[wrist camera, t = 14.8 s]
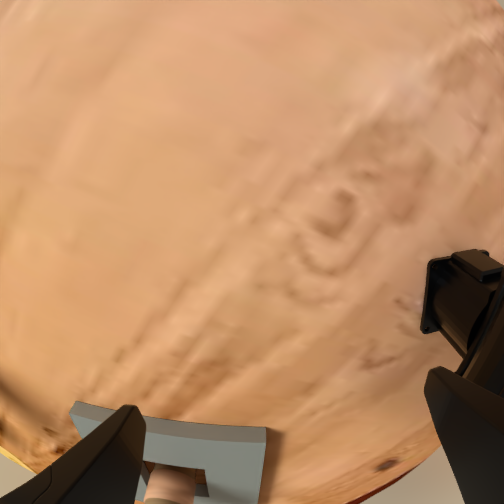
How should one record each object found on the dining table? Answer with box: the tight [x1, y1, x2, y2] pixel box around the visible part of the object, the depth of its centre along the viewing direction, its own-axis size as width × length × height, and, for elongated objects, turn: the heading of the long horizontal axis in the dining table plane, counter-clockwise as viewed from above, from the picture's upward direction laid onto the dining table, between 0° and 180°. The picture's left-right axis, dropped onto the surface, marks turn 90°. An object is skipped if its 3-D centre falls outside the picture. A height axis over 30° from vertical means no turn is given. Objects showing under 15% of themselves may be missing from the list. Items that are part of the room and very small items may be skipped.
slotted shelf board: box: [69, 401, 266, 504], centre depth 28 cm, size 20×20×2 cm
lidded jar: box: [144, 463, 196, 504], centre depth 24 cm, size 5×5×10 cm
